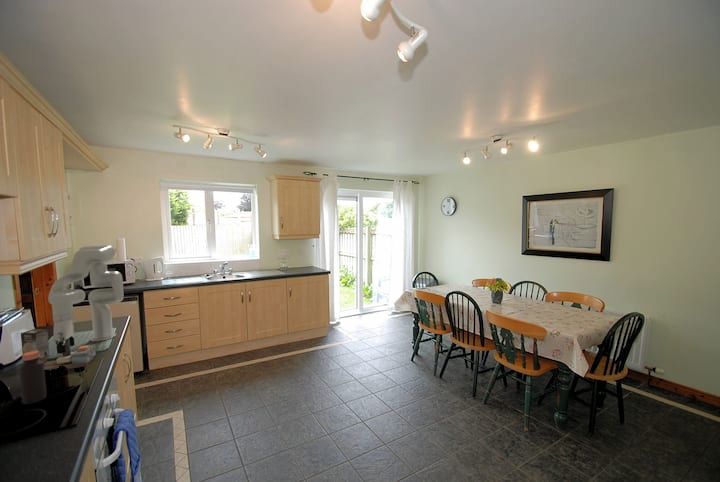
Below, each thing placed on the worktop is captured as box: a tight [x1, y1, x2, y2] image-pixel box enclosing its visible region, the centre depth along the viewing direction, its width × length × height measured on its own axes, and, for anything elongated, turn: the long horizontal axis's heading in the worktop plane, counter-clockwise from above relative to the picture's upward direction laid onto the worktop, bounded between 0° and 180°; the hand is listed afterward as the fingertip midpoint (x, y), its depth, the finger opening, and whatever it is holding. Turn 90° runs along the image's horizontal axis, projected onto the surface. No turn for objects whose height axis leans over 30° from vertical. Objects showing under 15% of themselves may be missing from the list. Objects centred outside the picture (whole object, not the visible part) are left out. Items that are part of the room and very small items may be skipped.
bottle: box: [19, 351, 47, 405], centre depth 126 cm, size 7×7×20 cm
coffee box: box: [20, 328, 51, 360], centre depth 165 cm, size 9×6×16 cm
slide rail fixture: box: [39, 343, 97, 370], centre depth 157 cm, size 12×22×7 cm, turn 114°
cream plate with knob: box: [56, 339, 75, 364], centre depth 158 cm, size 8×5×10 cm, turn 24°
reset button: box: [77, 344, 90, 351], centre depth 160 cm, size 3×3×3 cm
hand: (66, 349), depth 157 cm, fingers open, 9 cm apart
